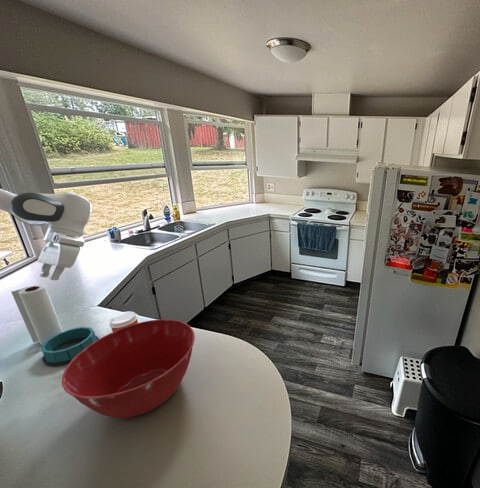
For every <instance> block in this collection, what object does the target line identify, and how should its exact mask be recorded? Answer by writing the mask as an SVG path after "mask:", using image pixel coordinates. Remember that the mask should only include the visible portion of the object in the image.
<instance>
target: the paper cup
mask: <svg viewBox="0 0 480 488" xmlns="http://www.w3.org/2000/svg"><path fill="white" fill-rule="evenodd" d="M138 318H139V315H138V313H136V312H135V311H132V310H131V311H129V310H128V311H122V312H119V313H117V314H115V315H114V316H112V317H111V318H110V319H109V323H108V327H110V328H111V331H112V332H114V331H117V330H119V329H122V328H124V327H127V326H130V325H133V324H137V323H139V322H138Z"/></svg>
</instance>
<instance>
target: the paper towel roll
mask: <svg viewBox="0 0 480 488" xmlns="http://www.w3.org/2000/svg"><path fill="white" fill-rule="evenodd" d="M10 293H11V295H12V297H13V299H14V301H15V302H14V303H15V304H16V307H17V309H18V311H19V313H20V316H21V318H22V320H23V322H24V324H25V327H26V329H27V331H28V334H29V337H30V338H31V340H32V343H33V344H35V343H38V342H39V344H40V345H41V346H42V345H43V344H44V343H45V342H46V341H47V340H48V339H50V338H51V337H53V336H55V335H56V334H59V333H61V332H64V331H63V328H62V326H61V324H60V323H61V322H60V320H59V318H58V315H57V313H56V309H55V308H54V305H53V302H52V299H51V297H50V294H49V292H48V290H47V286H46V285H45V284H35V285H30V286H25V287H22V288H19V289H15V290H11V291H10Z"/></svg>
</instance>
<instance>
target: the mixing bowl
mask: <svg viewBox="0 0 480 488" xmlns="http://www.w3.org/2000/svg"><path fill="white" fill-rule="evenodd" d="M195 340H196V335H195V331H194V329H193V328H192V326H190V325H189V324H187V323H186V322H184V321H181V320H176V319H170V318H169V319H168V318H166V319H165V318H161V319H151V320H146V321H141V322H138V323H137V324H133V325H130V326H127V327H124V328H122V329H119V330H117V331H114V332H113V331H112V332H110V333H107V334H106V335H104V336H102V337H100V338H99V340H97V341H95V342H94V343H92V344H91V345H89V346H88V347H86V348H85V349H84V350H82V351H81V352H80V353H79V354H78V355H77V356H76V357H75V358H74V359H73V360H72V361H71V362H70V363H69V364H67V366H66V367H65V369H64V371H63V373H62V375H61V386H62V389H63V391H65V392H66V393H67V394H68V395H70V396H72V397H74V399H76V400H77V401H78V402H80V404H81V405H84V406H85V407H86V408H89V409H90V410H91V411H93V412H96V413H98V414H99V415H103V416H106V417H109V418H114V419H127V418H133V417H134V418H135V417H137V416H140V415H143V414H146V413H148V412H150V411H152V410H154V409H156V408H157V407H159V406H161V405H162V404H164V402H166V401H167V400H168V399H169V398H170V397H171V396H172V395H173V394H174V393H175V392H176V391H177V389H178V388H179V386H181V383H182V381H183V379H184V377H185V374H186V372H187V371H188V367H189V364H190V361H191V357H192V352H193V347H194V344H195Z"/></svg>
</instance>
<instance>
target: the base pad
mask: <svg viewBox="0 0 480 488" xmlns="http://www.w3.org/2000/svg"><path fill="white" fill-rule="evenodd" d="M99 339H100V338H99V336H97V335H96V332H95V330H94V329H93V328H92V327H89V326H78V327H73V328H69V329H66V330H64V331H63V332H61V333H59V334H56V335H55V336H53V337H51V338H50V339H48V340H47V341H46V342H45V343H44V344H43V345H41V346H40V349H41V352H42V354H43V355H42V363H43V364H44V366H47V367H61V366H66V365H68V364H69V363H70V362H71V361H72V360H73V359H74V358H75V357H76V356H77V355H78V354H79V353H80V352H81V351H82V350H84V349H85V348H86V347H88V346H89V345H91V344H92V343H94V342H95V341H97V340H99Z"/></svg>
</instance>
